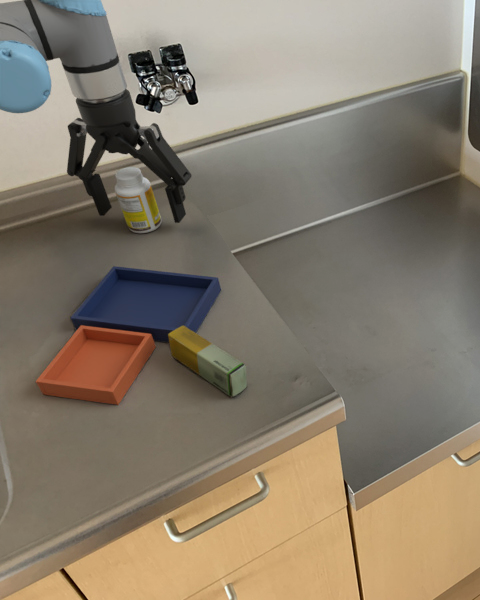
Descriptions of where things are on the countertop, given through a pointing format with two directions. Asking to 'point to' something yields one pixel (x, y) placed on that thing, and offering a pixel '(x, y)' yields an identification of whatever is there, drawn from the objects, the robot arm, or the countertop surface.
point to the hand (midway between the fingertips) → (142, 215)
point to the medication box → (208, 361)
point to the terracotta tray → (97, 365)
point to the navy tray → (148, 302)
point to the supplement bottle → (137, 200)
